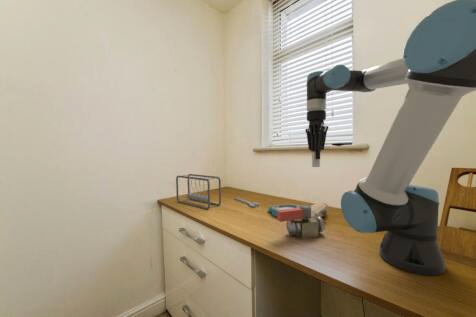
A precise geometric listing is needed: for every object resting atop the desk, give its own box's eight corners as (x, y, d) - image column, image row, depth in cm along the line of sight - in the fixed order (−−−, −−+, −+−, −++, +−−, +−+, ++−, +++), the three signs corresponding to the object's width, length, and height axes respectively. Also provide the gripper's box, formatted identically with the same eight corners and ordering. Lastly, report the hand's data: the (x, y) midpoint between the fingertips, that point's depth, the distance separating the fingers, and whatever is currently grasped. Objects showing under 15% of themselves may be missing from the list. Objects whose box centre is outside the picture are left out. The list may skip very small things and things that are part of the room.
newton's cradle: (176, 202, 133) (175, 175, 132) (189, 199, 142) (188, 173, 141) (209, 210, 115) (208, 179, 114) (221, 206, 124) (221, 176, 123)
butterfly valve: (257, 223, 102) (318, 230, 84) (255, 209, 102) (316, 214, 84) (281, 210, 123) (334, 213, 105) (279, 198, 123) (333, 200, 105)
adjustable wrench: (233, 199, 140) (233, 197, 140) (241, 198, 143) (241, 196, 143) (252, 208, 118) (252, 205, 118) (261, 207, 121) (261, 204, 121)
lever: (306, 214, 84) (306, 205, 84) (313, 218, 80) (313, 208, 80) (275, 218, 80) (275, 208, 80) (281, 222, 76) (281, 212, 76)
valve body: (314, 229, 87) (315, 213, 86) (325, 235, 80) (325, 218, 80) (285, 232, 84) (285, 216, 83) (294, 239, 77) (294, 222, 77)
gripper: (334, 108, 80) (333, 167, 82) (314, 113, 93) (314, 165, 94) (317, 107, 79) (317, 168, 80) (300, 113, 91) (299, 165, 93)
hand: (315, 166), depth 87 cm, fingers closed
